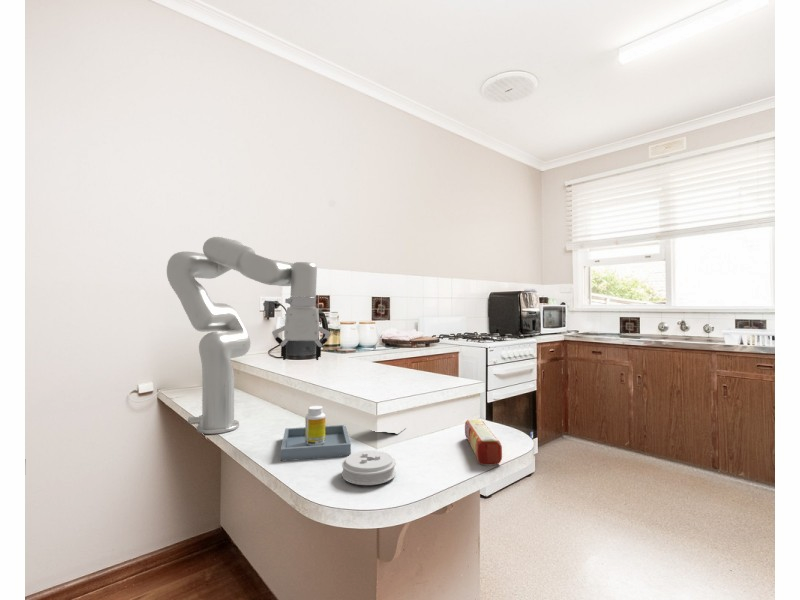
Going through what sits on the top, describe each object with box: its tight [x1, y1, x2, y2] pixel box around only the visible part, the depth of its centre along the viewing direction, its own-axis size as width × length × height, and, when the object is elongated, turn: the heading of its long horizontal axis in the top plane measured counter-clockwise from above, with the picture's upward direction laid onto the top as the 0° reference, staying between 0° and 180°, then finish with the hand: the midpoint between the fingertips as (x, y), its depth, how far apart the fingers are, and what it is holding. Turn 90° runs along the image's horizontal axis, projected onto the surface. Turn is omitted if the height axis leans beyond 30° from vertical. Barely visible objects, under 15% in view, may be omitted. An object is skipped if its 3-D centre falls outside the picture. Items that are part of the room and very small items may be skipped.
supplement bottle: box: [304, 405, 326, 446], centre depth 116 cm, size 6×6×10 cm
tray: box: [280, 424, 352, 461], centre depth 116 cm, size 18×18×3 cm
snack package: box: [464, 418, 503, 466], centre depth 113 cm, size 21×7×7 cm, turn 0°
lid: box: [341, 450, 397, 486], centre depth 96 cm, size 13×13×5 cm
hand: (301, 359), depth 124 cm, fingers open, 9 cm apart
